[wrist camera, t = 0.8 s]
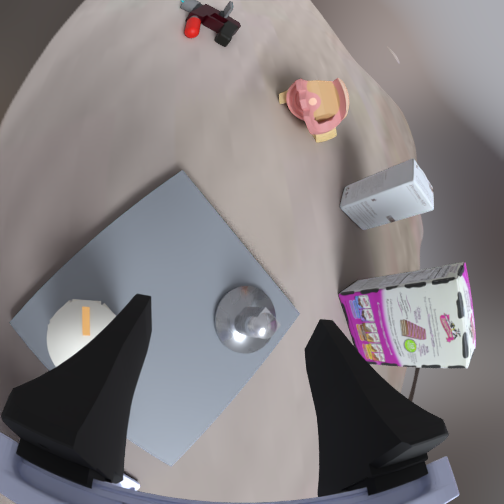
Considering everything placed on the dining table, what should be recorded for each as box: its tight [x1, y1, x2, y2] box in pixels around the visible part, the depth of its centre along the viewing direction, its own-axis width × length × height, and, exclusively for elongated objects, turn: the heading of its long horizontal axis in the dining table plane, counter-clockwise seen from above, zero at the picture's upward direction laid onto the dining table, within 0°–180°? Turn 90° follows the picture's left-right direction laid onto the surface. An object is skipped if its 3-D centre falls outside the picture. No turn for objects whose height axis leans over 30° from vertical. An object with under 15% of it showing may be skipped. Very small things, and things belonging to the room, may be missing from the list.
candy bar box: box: [339, 262, 476, 368], centre depth 29 cm, size 11×5×16 cm, turn 25°
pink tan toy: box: [279, 78, 349, 143], centre depth 35 cm, size 9×10×10 cm
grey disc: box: [214, 286, 281, 354], centre depth 24 cm, size 6×6×4 cm
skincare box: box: [340, 159, 434, 230], centre depth 34 cm, size 6×4×12 cm
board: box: [9, 170, 300, 466], centre depth 23 cm, size 21×19×1 cm
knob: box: [47, 299, 116, 367], centre depth 16 cm, size 6×6×5 cm
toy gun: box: [181, 0, 241, 47], centre depth 29 cm, size 10×12×5 cm
